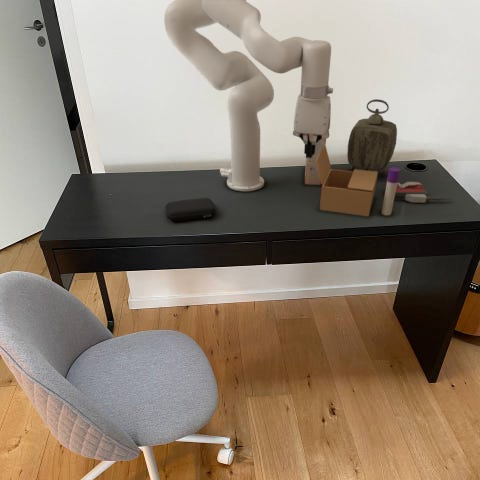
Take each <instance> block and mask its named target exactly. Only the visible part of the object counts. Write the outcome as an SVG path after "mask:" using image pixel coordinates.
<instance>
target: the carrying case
mask: <svg viewBox="0 0 480 480" xmlns="http://www.w3.org/2000/svg"><path fill="white" fill-rule="evenodd" d="M164 209H165V212H166V216H167V219H168V220H170V221H172V222H182V221H190V220H198V219H207V218H211V217H214V216H215V215H216V214H217V208H216V206H215V204H214V201H213V200H212V199H211V198H209V197H200V198H191V199H184V200H183V199H182V200H181V199H180V200H174V201H169V202H167V203H166V205H165V206H164Z"/></svg>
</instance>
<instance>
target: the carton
mask: <svg viewBox="0 0 480 480" xmlns="http://www.w3.org/2000/svg"><path fill="white" fill-rule="evenodd" d="M378 175H379V172H378V171H375V170H368V171H366V169H357V168H356V169H354V170H344V169H343V170H342V169H335V168H330V170H329V172H328V174H327V176H326V178H325V180H324V182H323V184H321V190H320V191H321V192H320V201H319V202H320V203H319V211H326V212H334V213H341V214H347V215H356V216H360V217H361V216H363V217H369V216H370V213H371V209H372V205H373V201H374V198H375V192H376V185H377V180H378V177H379V176H378Z"/></svg>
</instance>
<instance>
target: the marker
mask: <svg viewBox="0 0 480 480" xmlns="http://www.w3.org/2000/svg"><path fill="white" fill-rule="evenodd" d="M400 174H401V168H398V167H396V166H395V167H394V166H391V167H389V169H388V174H387V178H386V187H385V191H384V196H383V201H382V207H381V214H382V215H383V216H391V215H392V212H393V206H394V202H395V200H394V197H395V192H396V187H397V183H399V178H400Z"/></svg>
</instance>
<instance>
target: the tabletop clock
mask: <svg viewBox="0 0 480 480" xmlns="http://www.w3.org/2000/svg"><path fill="white" fill-rule="evenodd" d="M376 102H377V103H382V104H384V105H385V106H386V110H383V111H380V109H379V108H375V110H373V109H371V108H369V105H370V104H371V103H376ZM366 109H367V111H368V112H370V113H371V115H369V117H368V118H360V119H358V121H357V122H356V123H355V124H354V126H353V127H352V128H351V131H350V134H349V138H348V141H347V153H346V154H347V155H346V157H347V162H348V164H349V165H350V166H351V171H354V169H357V168H358V169H362V170H365V171H381V175H382V176H386V175H387V171H386V168H387V166H388V165H389V163H390V162H391V160H392V158H393V156H394V153H395V149H396V146H397V138H398V128H397V124H396V123H394V122H393V121H390V120H385V119H384V118H383V116H382V114H385V113H387V112H388V111H389V109H390V106H389V104H388V103H387V101H385V100H383V99H372V100H369V101H368V102H367V104H366Z"/></svg>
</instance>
